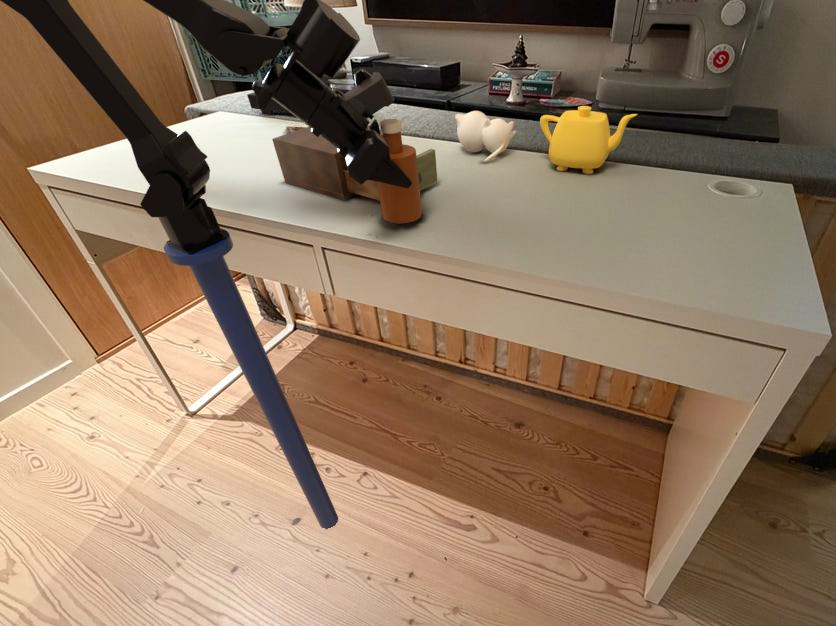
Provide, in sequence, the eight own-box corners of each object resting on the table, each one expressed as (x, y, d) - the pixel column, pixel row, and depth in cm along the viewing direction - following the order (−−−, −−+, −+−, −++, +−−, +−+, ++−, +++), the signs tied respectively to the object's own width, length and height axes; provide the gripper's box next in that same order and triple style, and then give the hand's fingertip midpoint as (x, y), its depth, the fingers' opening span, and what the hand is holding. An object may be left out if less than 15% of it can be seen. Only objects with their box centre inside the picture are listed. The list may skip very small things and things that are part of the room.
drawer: (443, 183, 85) (441, 150, 81) (394, 211, 76) (388, 176, 72) (373, 165, 92) (368, 135, 88) (320, 189, 83) (312, 157, 80)
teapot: (629, 161, 94) (640, 103, 87) (623, 181, 86) (635, 119, 79) (543, 152, 99) (547, 96, 91) (530, 170, 91) (534, 111, 84)
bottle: (398, 227, 72) (385, 131, 62) (374, 214, 75) (359, 121, 66) (429, 214, 75) (422, 121, 65) (406, 203, 78) (395, 112, 69)
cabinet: (396, 175, 90) (390, 131, 85) (344, 200, 82) (334, 154, 76) (338, 160, 97) (329, 119, 91) (285, 182, 88) (271, 138, 83)
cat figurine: (513, 105, 91) (460, 97, 95) (494, 149, 89) (440, 139, 93) (520, 138, 100) (470, 129, 103) (502, 178, 98) (452, 168, 101)
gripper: (357, 64, 52) (455, 154, 62) (344, 40, 65) (426, 117, 75) (304, 144, 56) (404, 217, 66) (301, 106, 69) (385, 172, 79)
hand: (406, 177), depth 71 cm, fingers closed on bottle, 6 cm apart
